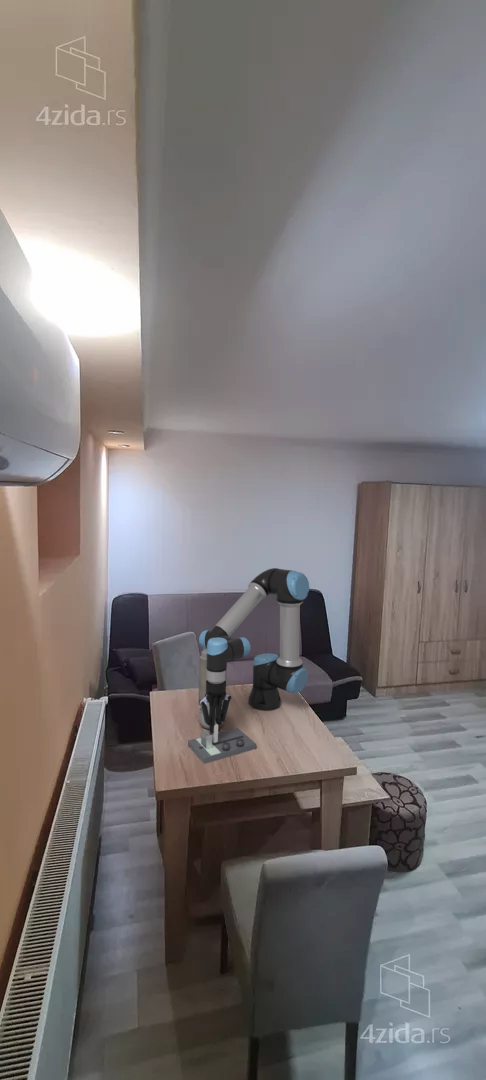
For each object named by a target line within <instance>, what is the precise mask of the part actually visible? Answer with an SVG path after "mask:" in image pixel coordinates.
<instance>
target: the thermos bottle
mask: <svg viewBox="0 0 486 1080" xmlns="http://www.w3.org/2000/svg"><path fill="white" fill-rule="evenodd" d="M202 649H203V650H201V653H200V656H199V669H198V670H199V671H198V672H199V673H198V674H199V676H198V701H199V700H203V699H204V698H205V694H206V680H207V679H206V669H207V649H205V648H203V647H202ZM207 703H209V702H208V701H207ZM198 705H199V707H200V706H201V704H200V703H199V702H198Z"/></svg>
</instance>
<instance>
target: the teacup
mask: <svg viewBox="0 0 486 1080" xmlns="http://www.w3.org/2000/svg"><path fill="white" fill-rule="evenodd" d="M206 706H207V709H208V714H209V703H207V705H206ZM221 709H222V707H221ZM198 720H199V723H200V725H201V726H202V727H203V728H204V729H205V730H209V726H210V725H207V724H206V723H205V720H204V716H203V711H202V706H200V705H199V707H198ZM215 723H216V722H215ZM221 723H222V724H221V725H220V727H221V726H222V725H223V724H224V722H221Z"/></svg>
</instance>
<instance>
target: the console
mask: <svg viewBox="0 0 486 1080" xmlns="http://www.w3.org/2000/svg"><path fill="white" fill-rule="evenodd" d="M187 747H189V748H190V750H191V751H192V752H193V753H194V754H195V756H196V757H198V759H199V760H200V761H201V762H202V763H203V765H205V764H208V763H212V762H215V761H219V760H222V759H226V758H229V757H232V756H236V755H239V754H243V753H246V751H247V752H250V751H253V750H257V743H256V742H255V741H254V740H252V739H251V738H250V737H249V736H248V735H246V734H245V732H244V731H242V730H241V729H240V728H239V727H236V728H232V729H228V730H225V731H220V732H218V742H216V743H214V742H213V741H212V748H208V749H206V748H205V747H204V746H203V745H202V744H201V736H200V737H197V738H193V739H190V740H189V739H188V740H187Z"/></svg>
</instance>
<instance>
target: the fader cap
mask: <svg viewBox="0 0 486 1080" xmlns="http://www.w3.org/2000/svg"><path fill="white" fill-rule="evenodd" d="M200 731H201V732H200V733H201V735H200V737H201V744H202V745H203V746H204V747H205V748H206V749H208V748H212V734H211V733H210V732H209V729H204V730H203V729H202V730H200Z"/></svg>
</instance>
